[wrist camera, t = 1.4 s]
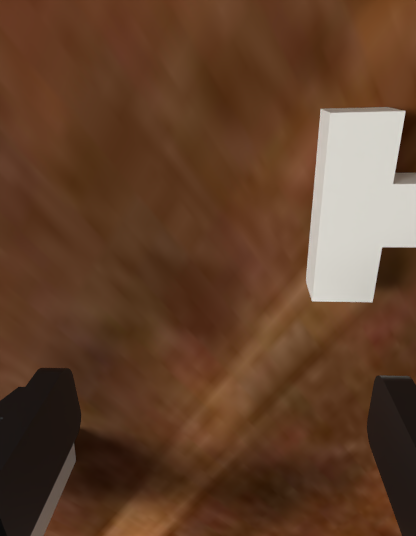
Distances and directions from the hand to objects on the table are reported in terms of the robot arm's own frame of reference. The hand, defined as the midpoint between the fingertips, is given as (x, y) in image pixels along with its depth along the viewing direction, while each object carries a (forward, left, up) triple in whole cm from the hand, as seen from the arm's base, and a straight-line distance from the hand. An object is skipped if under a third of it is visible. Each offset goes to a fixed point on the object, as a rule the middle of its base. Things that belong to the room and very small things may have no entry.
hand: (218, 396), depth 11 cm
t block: (0, +11, -19) cm, 22 cm away
